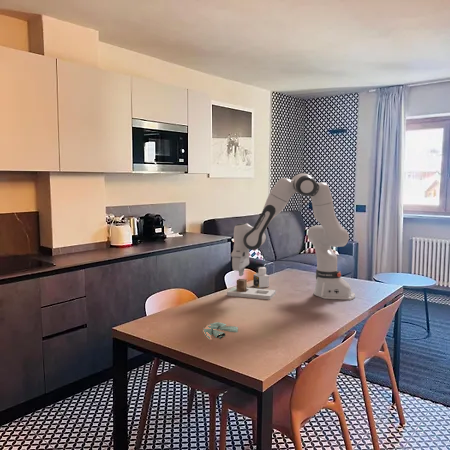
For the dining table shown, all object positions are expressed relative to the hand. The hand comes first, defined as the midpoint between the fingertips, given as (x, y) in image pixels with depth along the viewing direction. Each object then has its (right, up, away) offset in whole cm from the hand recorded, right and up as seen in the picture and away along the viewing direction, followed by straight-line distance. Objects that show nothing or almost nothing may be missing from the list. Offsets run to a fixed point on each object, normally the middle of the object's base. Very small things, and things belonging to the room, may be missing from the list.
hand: (241, 275), depth 240 cm
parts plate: (+6, -11, -1) cm, 12 cm away
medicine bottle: (+13, -9, +18) cm, 24 cm away
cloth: (-11, -18, -59) cm, 63 cm away
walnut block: (0, -11, +1) cm, 11 cm away
